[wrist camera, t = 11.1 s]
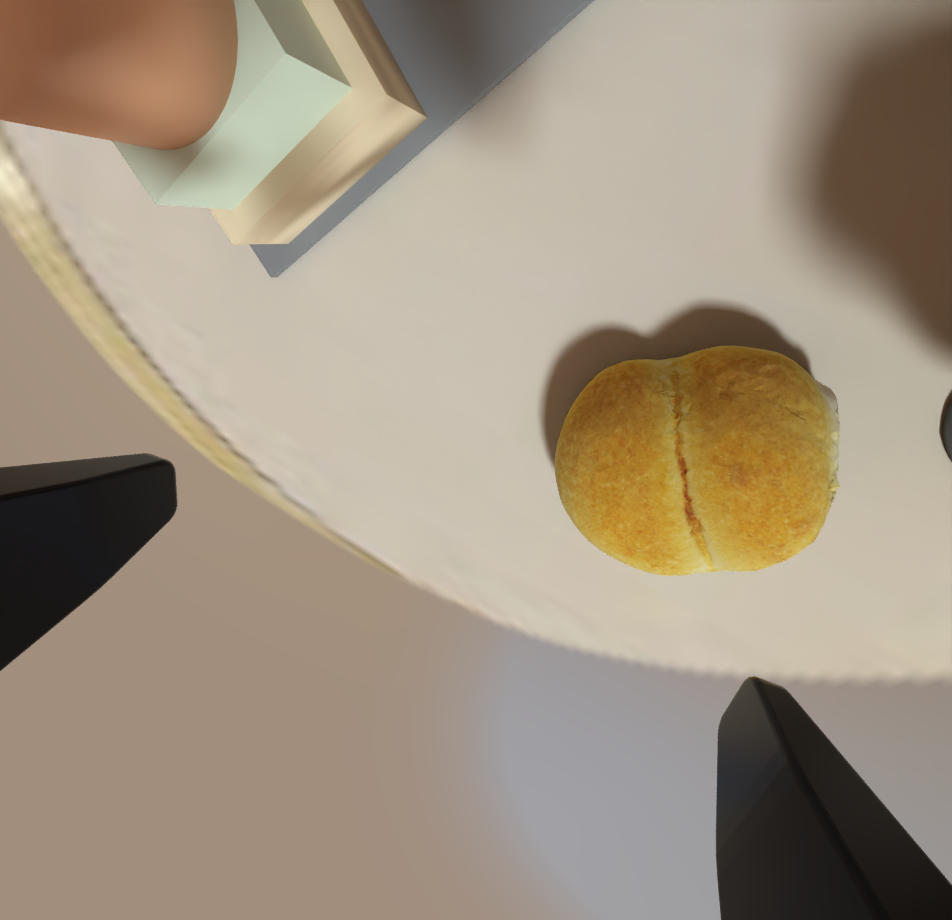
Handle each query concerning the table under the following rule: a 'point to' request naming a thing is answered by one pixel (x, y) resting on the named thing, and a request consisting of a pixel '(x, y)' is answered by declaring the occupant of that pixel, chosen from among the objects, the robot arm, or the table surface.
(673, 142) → the table surface
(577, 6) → the mat
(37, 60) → the peach gumdrop
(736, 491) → the bread roll
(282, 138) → the tower top
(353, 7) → the tower base
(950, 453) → the sundae
